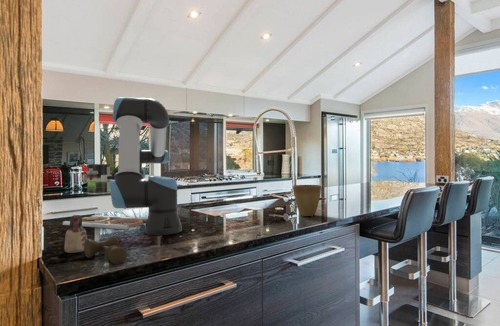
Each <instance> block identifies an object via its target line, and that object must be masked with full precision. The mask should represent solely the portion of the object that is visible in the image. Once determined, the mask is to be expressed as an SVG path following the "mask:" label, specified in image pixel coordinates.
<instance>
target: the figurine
mask: <svg viewBox="0 0 500 326" xmlns="http://www.w3.org/2000/svg"><path fill="white" fill-rule="evenodd" d="M82 218H83V217H82V216H81V215H79V214H74V215H71V216H70V218H69V220H68V221H70V225H69V228H68V229H67V231H65V236H64V252H65V253H70V254H71V253H72V254H74V253H81V252H84V243H85V240H86V239H88V236H87V230H86V229H85V228H84V226H82V222H83V221H82Z"/></svg>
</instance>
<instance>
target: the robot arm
mask: <svg viewBox="0 0 500 326" xmlns="http://www.w3.org/2000/svg"><path fill="white" fill-rule="evenodd" d="M112 111H113V112H112V121H113V122H114V123H115V124H116V126H117V127H118V128H119V135H118V138H119V139H118V161H117V162H118V165H117V168H116V169H115V170H114V171H113V172H111V171H110V175H101V181H108V180H110V198H111V203H112V207H113V208H115V209H125V210H126V209H139V208H148V217H147V218H148V219H147V222H145V226H144V233H145V234H146V235H150V236H166V235H167V236H168V235H173V234H174V235H175V234H179V233H180V232H182V231H183V230H182V229H183V226H182V223H181V219H180V216H179V214H178V191H179V190H178V181H177V180H176V179H175V178H173V177H168V176H161V175H160V176H158V175H148V177H147V179H146V173H147V172H146V170H145V169H144V168H143V164H161V165H162V164H168V163H169V151H168V150H167V149H166V143H167V127H168V126H169V124H170V116H169V112H168V111H167V109H166V107H165V106H164V105H163V104H162V103H161V102H160V101H158V100H157V99H154V98H149V97H148V98H146V97H127V96H125V97H123V96H122V97H117V98H115V100H114V103H113V109H112ZM144 124H149V126H150V147H151V148H150V149H151V150H150V149H142V147H141V145H140V139H141V138H140V135H141V134H140V133H141V132H140V129H142V128H143V126H144ZM82 181H83V182H84V181H85V182H87V174H82Z"/></svg>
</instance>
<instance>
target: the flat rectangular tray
mask: <svg viewBox="0 0 500 326" xmlns="http://www.w3.org/2000/svg"><path fill="white" fill-rule="evenodd" d="M127 218H132V217H130V216H129V217H128V216H115V215H114V216H113V215H96V214H93V215H91V216H85V217H82V227H83V228H84V227H86V228H99V229H111V230H112V229H113V230H130V227H129V226H127V225H113V224H107V222H108V221H112V220H116V219H127ZM133 218H134V219H141V220H142V221H143V223H146V222H147V219H148V217H147V218H143V217H133ZM62 226H70V220H65V221H62Z"/></svg>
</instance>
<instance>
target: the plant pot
mask: <svg viewBox="0 0 500 326" xmlns="http://www.w3.org/2000/svg"><path fill="white" fill-rule="evenodd" d="M292 190H293V194H294V195H293V196H294V200H295V204H296V207H297V210H298V213H299V215H300V216H301V215H302V216H301V217H304V216H311V217H314V216H313V215H315V216H316V213H317V209H318V208H319V207H318V206H319V202H320V198H321V191H322V185H320V184H296V185H295V184H294V185H292Z"/></svg>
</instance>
